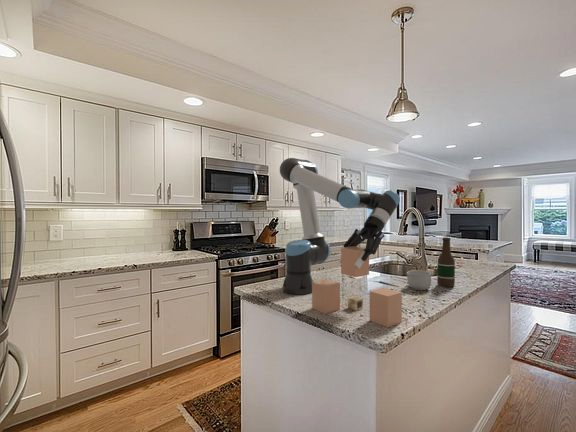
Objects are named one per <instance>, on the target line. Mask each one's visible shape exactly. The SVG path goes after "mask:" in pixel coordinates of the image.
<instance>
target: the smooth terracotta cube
mask: <svg viewBox="0 0 576 432" xmlns="http://www.w3.org/2000/svg"><path fill="white" fill-rule="evenodd" d="M365 248H366V247H365V246H364V247H363V246H358V245H357V246H351V247H344V246H342V247H340V258H341V263H340V274H341V275H345V276H349V277H351V276H353V277H359V276H362V277H364V276H368V275H370V255H369V256H368V258H367V259H366V261H364V262H363V264H362V266H361V267H360V269H358V268H357V267H356V265H355V262H356V261H357V259H358V258H359V256H360V255H361V253H362V251H365V250H364V249H365ZM353 277H352V278H353Z"/></svg>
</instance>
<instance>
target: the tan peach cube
mask: <svg viewBox="0 0 576 432" xmlns="http://www.w3.org/2000/svg"><path fill="white" fill-rule="evenodd" d="M402 310H403V292H401V291H398V290H394V289H389V288H385V287H381V288H377V289H373V290H370V291H369V313H368V314H369V316H368V317H369V321H370V322H373V323H376V324H377V325H380V326H383V327H386V328H390V327H392V326H395V325H398V324H401V323H402V322H403V320H402V318H403V315H402V314H403V313H402Z"/></svg>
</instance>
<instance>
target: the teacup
mask: <svg viewBox="0 0 576 432" xmlns="http://www.w3.org/2000/svg"><path fill="white" fill-rule="evenodd" d="M406 279H407V285H408V286H409V287H410V288H411V289H413V290H415V291H426V290H428V289H429V288H430V287H431V284H432V273H431V272H430V271H428V270H421V269H420V270H417V269H411V270H408V271H407V272H406Z"/></svg>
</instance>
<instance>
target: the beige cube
mask: <svg viewBox="0 0 576 432" xmlns="http://www.w3.org/2000/svg"><path fill="white" fill-rule="evenodd" d="M347 308H348V309H350V310H352V311H356V312H357V311H359V310H362V309H363V308H364V299H363V298H361V297H359V296H351V297H348V298H347Z"/></svg>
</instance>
